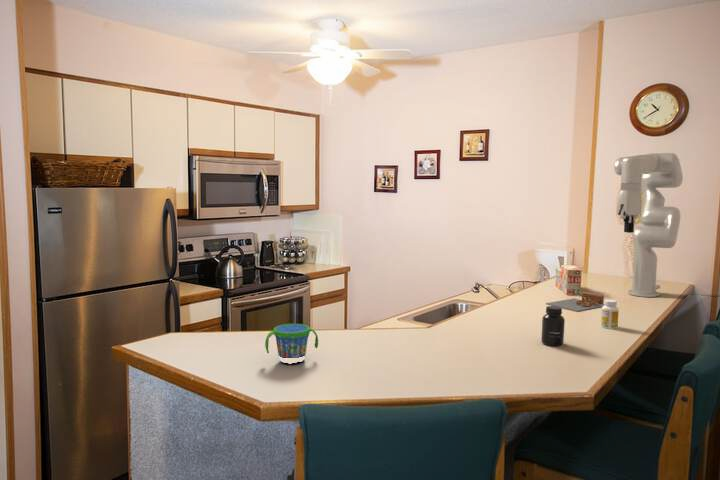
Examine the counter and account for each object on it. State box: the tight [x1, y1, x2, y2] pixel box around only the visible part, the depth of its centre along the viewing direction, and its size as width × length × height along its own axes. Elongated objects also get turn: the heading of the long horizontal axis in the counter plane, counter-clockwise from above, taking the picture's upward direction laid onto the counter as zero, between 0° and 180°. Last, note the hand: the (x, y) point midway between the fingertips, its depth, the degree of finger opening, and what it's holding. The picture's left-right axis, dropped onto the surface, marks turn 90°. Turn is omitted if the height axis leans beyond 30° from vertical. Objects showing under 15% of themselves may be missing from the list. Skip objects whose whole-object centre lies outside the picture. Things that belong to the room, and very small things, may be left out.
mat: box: [545, 298, 605, 313], centre depth 227 cm, size 18×16×1 cm
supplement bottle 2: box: [600, 299, 620, 330], centre depth 192 cm, size 5×5×10 cm
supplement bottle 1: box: [540, 305, 566, 347], centre depth 173 cm, size 7×7×12 cm
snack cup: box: [264, 323, 319, 358], centre depth 158 cm, size 16×10×10 cm
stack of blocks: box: [555, 264, 583, 296], centre depth 256 cm, size 21×6×12 cm, turn 173°
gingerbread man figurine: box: [576, 291, 605, 307], centre depth 226 cm, size 9×4×12 cm
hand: (628, 232), depth 221 cm, fingers closed
